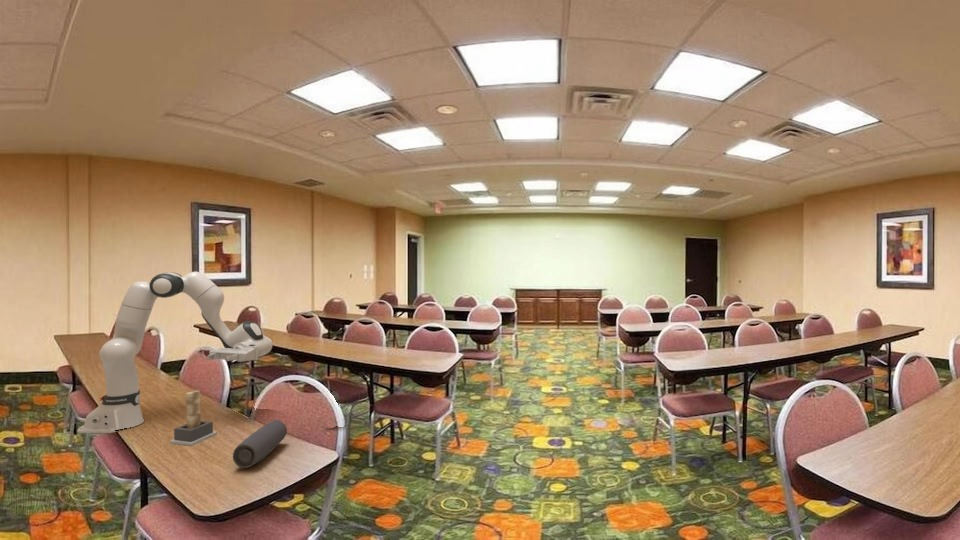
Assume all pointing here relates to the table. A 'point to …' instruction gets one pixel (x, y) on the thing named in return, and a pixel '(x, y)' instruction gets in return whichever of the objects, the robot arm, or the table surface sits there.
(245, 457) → the bluetooth speaker
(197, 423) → the slat
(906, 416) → the table surface
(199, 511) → the table surface
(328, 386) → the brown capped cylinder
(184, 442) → the grey hollow box
